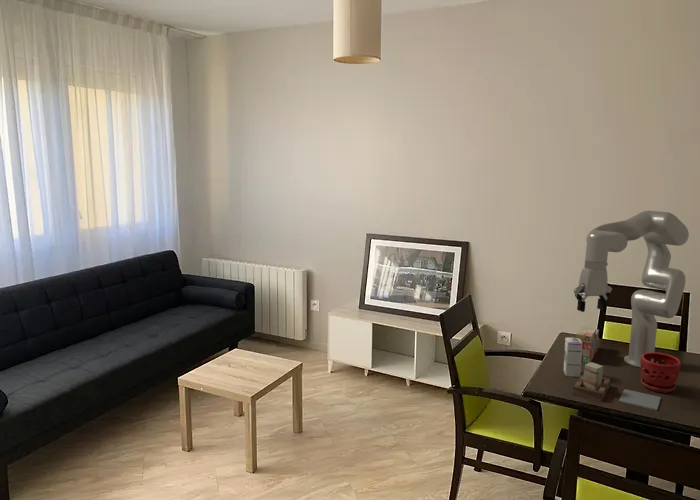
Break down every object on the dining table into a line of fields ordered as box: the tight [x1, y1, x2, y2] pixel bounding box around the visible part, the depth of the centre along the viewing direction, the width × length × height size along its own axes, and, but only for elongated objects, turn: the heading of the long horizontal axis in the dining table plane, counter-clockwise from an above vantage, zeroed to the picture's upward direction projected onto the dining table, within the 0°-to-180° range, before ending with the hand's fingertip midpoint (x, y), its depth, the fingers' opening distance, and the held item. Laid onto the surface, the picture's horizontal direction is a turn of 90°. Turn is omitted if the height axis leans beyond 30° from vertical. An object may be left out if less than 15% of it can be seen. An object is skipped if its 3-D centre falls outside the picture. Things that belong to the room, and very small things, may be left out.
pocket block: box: [572, 372, 612, 402], centre depth 204 cm, size 16×10×3 cm, turn 145°
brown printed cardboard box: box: [575, 326, 600, 364], centre depth 241 cm, size 21×6×12 cm, turn 147°
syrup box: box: [563, 337, 582, 378], centre depth 218 cm, size 6×6×14 cm
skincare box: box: [583, 361, 604, 391], centre depth 203 cm, size 5×4×10 cm
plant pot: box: [639, 351, 682, 393], centre depth 206 cm, size 13×13×12 cm
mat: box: [618, 388, 662, 412], centre depth 196 cm, size 12×12×1 cm
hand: (590, 310), depth 206 cm, fingers open, 9 cm apart
